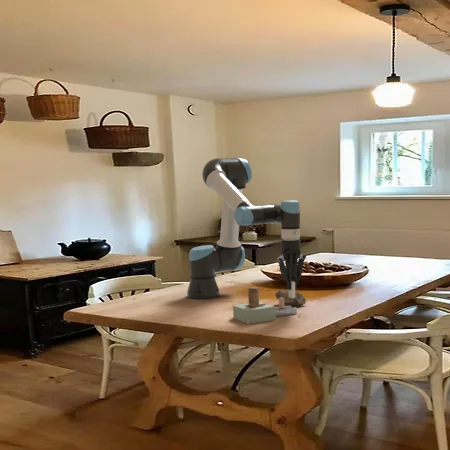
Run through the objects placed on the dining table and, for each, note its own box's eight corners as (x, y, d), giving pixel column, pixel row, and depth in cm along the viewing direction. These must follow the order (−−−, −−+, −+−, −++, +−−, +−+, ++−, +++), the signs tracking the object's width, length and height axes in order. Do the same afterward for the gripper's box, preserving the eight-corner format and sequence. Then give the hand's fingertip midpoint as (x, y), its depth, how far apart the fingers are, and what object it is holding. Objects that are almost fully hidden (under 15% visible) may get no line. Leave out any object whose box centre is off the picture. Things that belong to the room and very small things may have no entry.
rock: (273, 290, 265) (280, 290, 255) (298, 288, 267) (306, 288, 258) (274, 306, 264) (281, 307, 255) (300, 304, 267) (307, 305, 257)
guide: (264, 315, 243) (264, 309, 243) (290, 311, 249) (289, 305, 248) (270, 317, 239) (270, 311, 239) (296, 313, 244) (296, 307, 244)
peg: (247, 318, 239) (246, 288, 238) (256, 317, 241) (255, 286, 240) (252, 320, 236) (251, 289, 235) (261, 319, 238) (260, 288, 237)
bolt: (262, 315, 241) (261, 300, 241) (281, 312, 245) (281, 297, 245) (265, 316, 239) (264, 301, 239) (284, 313, 243) (284, 298, 243)
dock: (233, 317, 241) (232, 305, 241) (259, 313, 247) (259, 301, 246) (248, 323, 230) (247, 310, 230) (275, 319, 236) (275, 306, 235)
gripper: (281, 241, 239) (283, 301, 241) (309, 238, 245) (310, 297, 247) (271, 239, 246) (273, 297, 248) (299, 237, 252) (300, 293, 254)
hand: (291, 297), depth 248 cm, fingers closed
